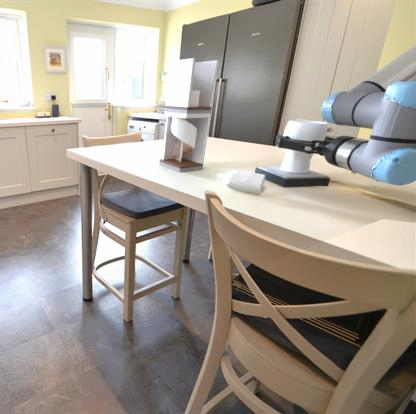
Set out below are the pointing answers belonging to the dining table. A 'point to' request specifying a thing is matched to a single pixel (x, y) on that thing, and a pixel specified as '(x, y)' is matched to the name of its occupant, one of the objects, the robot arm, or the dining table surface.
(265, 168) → the scale
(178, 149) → the white wooden shelf unit
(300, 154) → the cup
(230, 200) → the dining table surface
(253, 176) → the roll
